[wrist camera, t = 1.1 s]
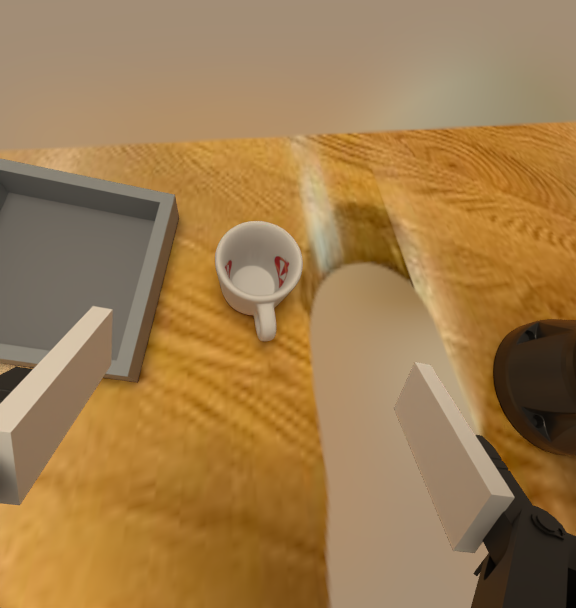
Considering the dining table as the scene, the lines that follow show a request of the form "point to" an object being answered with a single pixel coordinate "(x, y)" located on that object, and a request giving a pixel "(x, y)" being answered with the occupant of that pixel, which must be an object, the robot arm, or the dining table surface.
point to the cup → (258, 271)
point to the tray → (79, 261)
